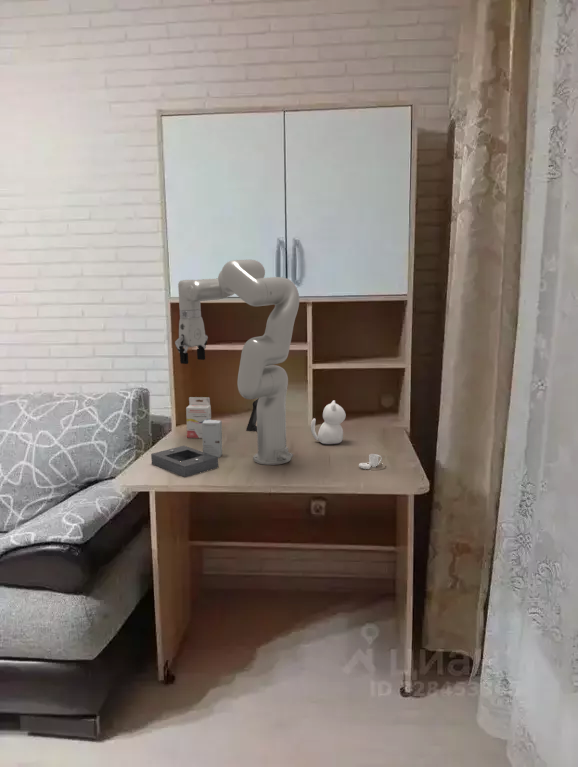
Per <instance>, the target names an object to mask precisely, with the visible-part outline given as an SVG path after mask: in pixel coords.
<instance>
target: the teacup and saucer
mask: <svg viewBox="0 0 578 767" xmlns="http://www.w3.org/2000/svg"><path fill="white" fill-rule="evenodd" d="M379 459H380V460H379ZM382 459H383V458H382V456H381V455H379V454H376V453H370V454H369V455H368V462H360V463H359V464H358V467H359V468H360V469H364V470H366V469H371V468H377V467H378V466H379V463H382ZM367 463H369V464H367ZM371 466H372V467H371ZM376 466H377V467H376Z"/></svg>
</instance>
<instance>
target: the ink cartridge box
mask: <svg viewBox="0 0 578 767" xmlns="http://www.w3.org/2000/svg"><path fill="white" fill-rule="evenodd" d="M210 399H211V398H210V397H209V396H208V397H205V396H204V397H203V396H200V397H199V396H198V397H197V396H195V397H193V396H190V397H188V401H189V402H188V403H189V405H188V406H186V408H185V411H186V412H185V413H186V415H185V418H186V436H187V438H188V439H203V435H202V423H203V422H204V420H212V409H211V408H212V407H211V400H210Z"/></svg>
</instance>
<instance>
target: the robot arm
mask: <svg viewBox="0 0 578 767" xmlns="http://www.w3.org/2000/svg"><path fill="white" fill-rule="evenodd" d="M265 276H266V269H265V267H264V265H263V264H262V263H261V262H260V261H258V260H256V259H233V260H230V261H227V262H225V264H224V265H223V267H222V269H221V271H219V273H218V276H217V278H201V279H182V280H180V281H178V284H177V285H178V286H177V288H178V304H179V305H178V306H179V321H178V338H177V339H176V340H175V341H174V344H175V347H176V350H177V351H178V353H179V360H180V364H181V365H188V364H189V353H188V349H189V348H193V347H197V348H196V353H197V355H196V356H197V357H196V358H197V360H200V361H201V360H202V361H204V360H206V347H207V346H206V345H207V343H208V338H209V337H208V335H207V334H206V330H205V329H206V328H205V323H204V320H203V317H202V311H201V310H202V309H201V302H208V301H209V302H210V301H218V300H222V299H225V298H228V297H231V296H233V295H236V296H238V298H239V299H241V300H242V301H243V302H244V303H246V304H247V305H249V306H251V307H262V306H265V307H266V306H272V305H274V307H273V309H272V311H271V312H270V313H269V315H268V317H267V321H266V325H265V326H266V327H265V330H264V334H263V335H261V336H254V337H251V338H249V339H248V340H247V341H246V342H245V343H244V345H243V348H242V349H241V354H240V361H239V367H238V374H237V384H236V385H237V390H238V393H239V394H240V396H241V397H242V398H244V399H246V400H257V399H258V398H259V400H258V403H257V421H256V426H257V431H256V433H257V435H256V436H257V437H256V438H257V441H256V442H257V452H256V453H255V454H254V455H253V456H252V457H253V459H252V460H253V462H255V463H256V464H260V465H266V466H274V465H275V466H276V465H283V464H285V463H288V462H290V461H291V459H292V458H293V457H294V453H292V452H289V447H288V446H287V423H286V422H287V421H286V418H287V417H286V416H287V415H286V410H287V409H286V408H287V407H286V405H287V404H286V402H287V393H288V386H289V377H288V373H287V371H286V370H285V368H283V367H281V366H279V364H282V363H284V362H286V360H287V358H288V356H289V353H290V349H291V348H290V347H291V342H292V336H293V332H294V324H295V320H296V317H297V314H298V310H299V306H300V294H299V291H298V288H297V285H296V284H295V283H294V281H292V280H290V279H289V278H286V277H281V276H270V277H265Z"/></svg>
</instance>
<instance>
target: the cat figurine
mask: <svg viewBox="0 0 578 767" xmlns="http://www.w3.org/2000/svg"><path fill="white" fill-rule="evenodd" d="M346 417H347V416H346V411H345V410H344V408H343V407H342V406H341V405H339V404H338V403H336V400H332V401H331V402H330V403H328V404H326V406H325V407H324V408H323V412H322V419H323V421H324V422H323V423H322V424H321V426H320V427H319V428H318V433H317V432H316V428H315V427H316V417H315V418H314V417H313V419H312V420H311V422H310V431H311V434H312V437H313V439H314V440H316V441H318V442H320V443H321V444H323V445H337V444H340V443H342V442H343V439H344V430H343V426H342V425H341V424H342V423H343V422H344V421H345V419H346Z"/></svg>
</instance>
